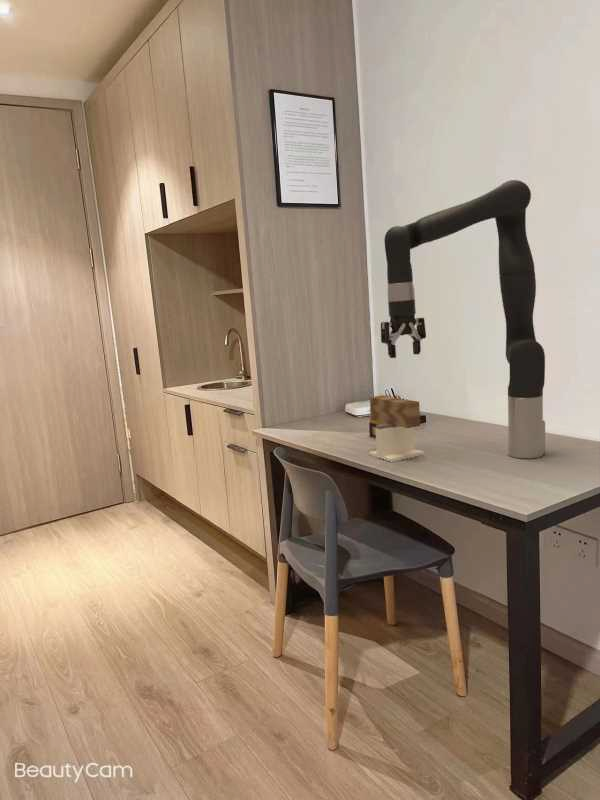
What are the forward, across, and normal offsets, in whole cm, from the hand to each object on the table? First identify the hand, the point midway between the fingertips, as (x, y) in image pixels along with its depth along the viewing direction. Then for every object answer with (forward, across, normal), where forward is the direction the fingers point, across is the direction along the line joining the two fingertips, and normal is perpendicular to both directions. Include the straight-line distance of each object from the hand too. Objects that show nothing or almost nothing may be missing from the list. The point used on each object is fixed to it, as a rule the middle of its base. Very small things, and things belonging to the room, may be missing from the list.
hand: (404, 356), depth 178 cm
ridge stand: (+30, -2, +4) cm, 30 cm away
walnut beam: (+20, -2, +4) cm, 20 cm away
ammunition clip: (+30, +6, +24) cm, 39 cm away
